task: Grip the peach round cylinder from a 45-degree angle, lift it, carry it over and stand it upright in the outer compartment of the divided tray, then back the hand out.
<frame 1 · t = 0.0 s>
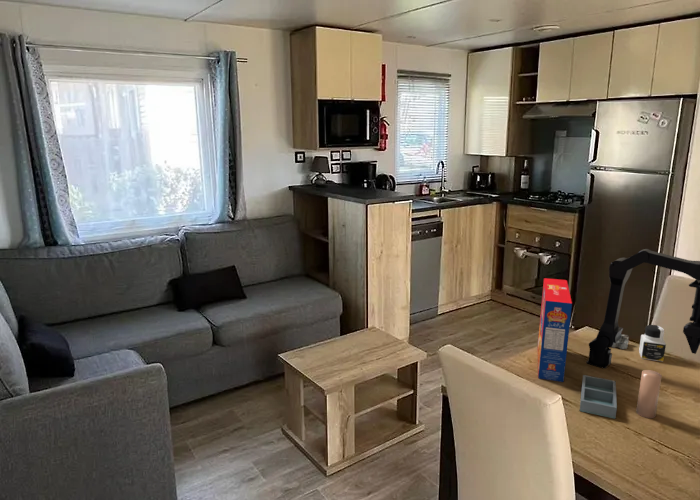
hand: (697, 348, 162), 15 cm above the table, tool pointing down, fingers open, 9 cm apart
peach round cylinder: (645, 413, 152), on the table
cereal box: (549, 363, 185), on the table
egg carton: (612, 345, 201), on the table
medicine bottle: (650, 357, 190), on the table
divided tray: (597, 407, 155), on the table
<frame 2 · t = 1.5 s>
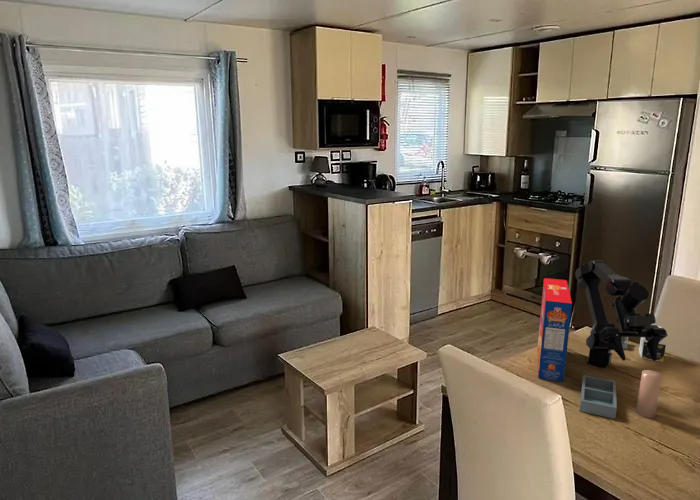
hand: (639, 360, 156), 13 cm above the table, tool tilted 45°, fingers open, 9 cm apart
nothing on the table moved.
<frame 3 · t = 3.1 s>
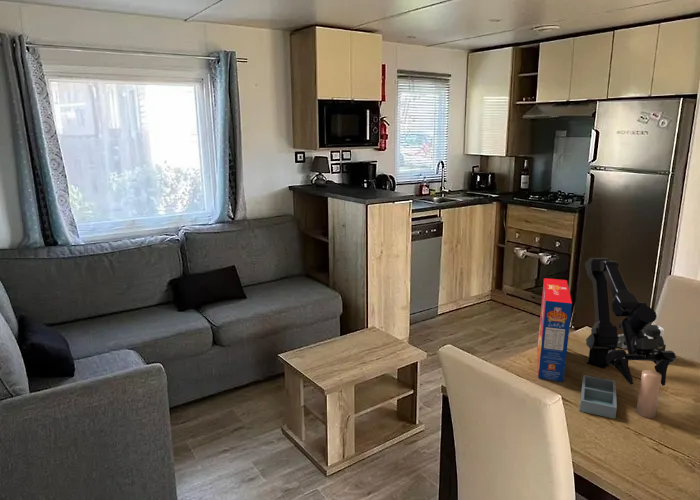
hand: (647, 385, 151), 9 cm above the table, tool tilted 45°, fingers open, 9 cm apart
nothing on the table moved.
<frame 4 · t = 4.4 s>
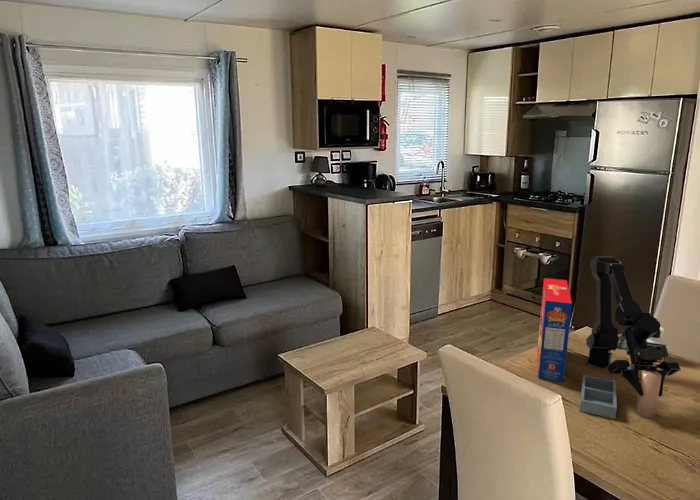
hand: (651, 396, 149), 7 cm above the table, tool tilted 45°, fingers closed on peach round cylinder, 5 cm apart
peach round cylinder: (645, 413, 152), on the table, touching gripper
everything else where it was.
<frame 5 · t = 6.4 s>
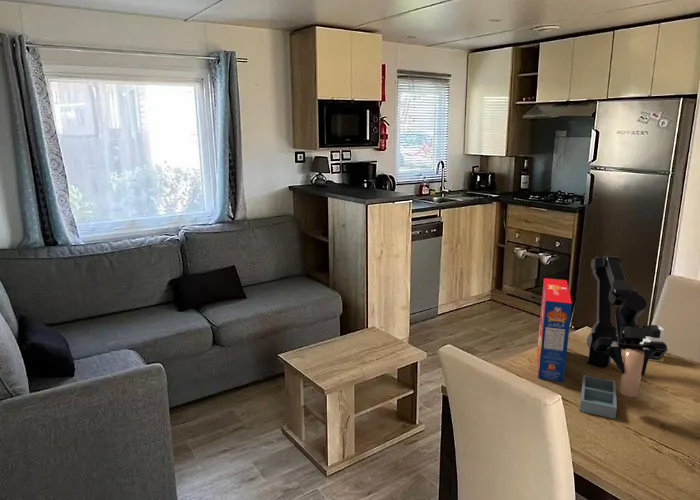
hand: (633, 374, 148), 13 cm above the table, tool tilted 45°, fingers closed on peach round cylinder, 5 cm apart
peach round cylinder: (628, 392, 151), point 6 cm above the table, touching gripper
everything else where it was.
when the fingers open (8 cm above the table, at t = 8.5 s): peach round cylinder stays where it is, resting on divided tray.
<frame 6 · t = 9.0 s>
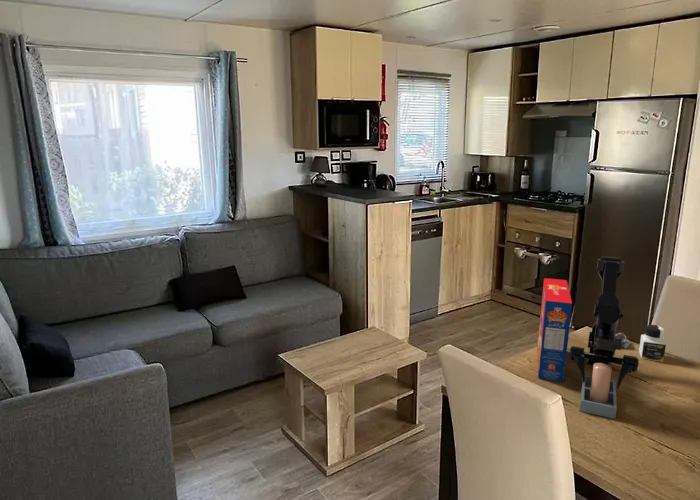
hand: (600, 385, 152), 8 cm above the table, tool tilted 45°, fingers open, 9 cm apart
peach round cylinder: (597, 405, 155), point 1 cm above the table, touching divided tray
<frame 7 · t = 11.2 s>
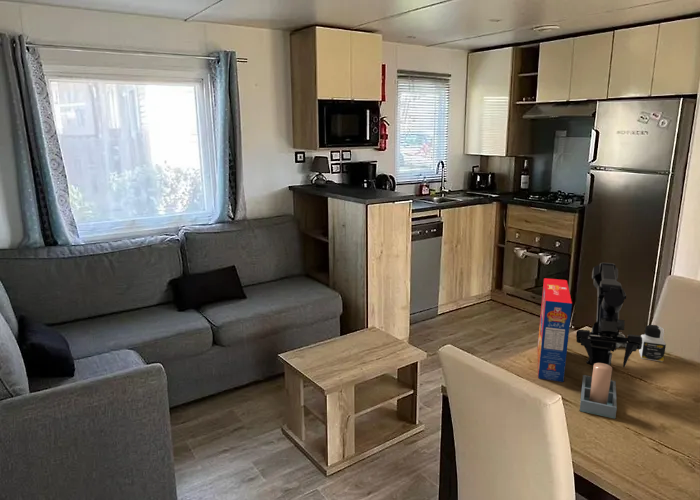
hand: (607, 364, 160), 11 cm above the table, tool tilted 40°, fingers open, 9 cm apart
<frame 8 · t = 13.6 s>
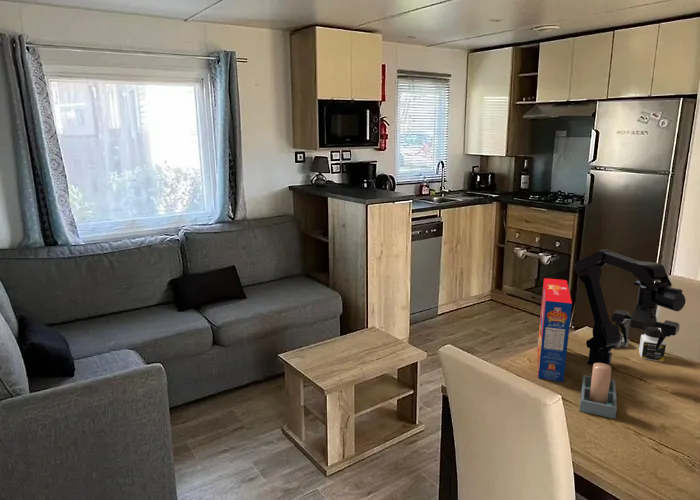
hand: (641, 346, 168), 13 cm above the table, tool pointing down, fingers open, 9 cm apart
at the end: peach round cylinder 0.0 cm off-centre on the divided tray, point 0.5 cm above the divided tray's base; peach round cylinder tilted 0°; the gripper is holding nothing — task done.
